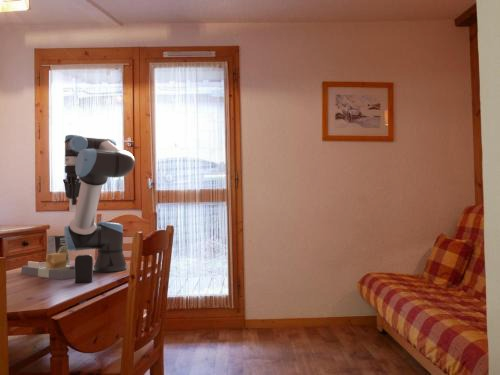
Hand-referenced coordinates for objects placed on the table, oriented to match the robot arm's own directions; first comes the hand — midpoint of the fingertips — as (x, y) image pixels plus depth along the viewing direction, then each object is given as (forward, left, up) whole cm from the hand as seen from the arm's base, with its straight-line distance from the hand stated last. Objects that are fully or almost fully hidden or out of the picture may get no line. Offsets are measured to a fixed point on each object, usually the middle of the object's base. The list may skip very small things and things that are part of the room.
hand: (72, 211), depth 206 cm
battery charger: (-39, +22, -29) cm, 53 cm away
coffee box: (+7, +3, -29) cm, 30 cm away
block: (-13, +18, -25) cm, 33 cm away
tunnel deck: (-11, +17, -28) cm, 35 cm away
